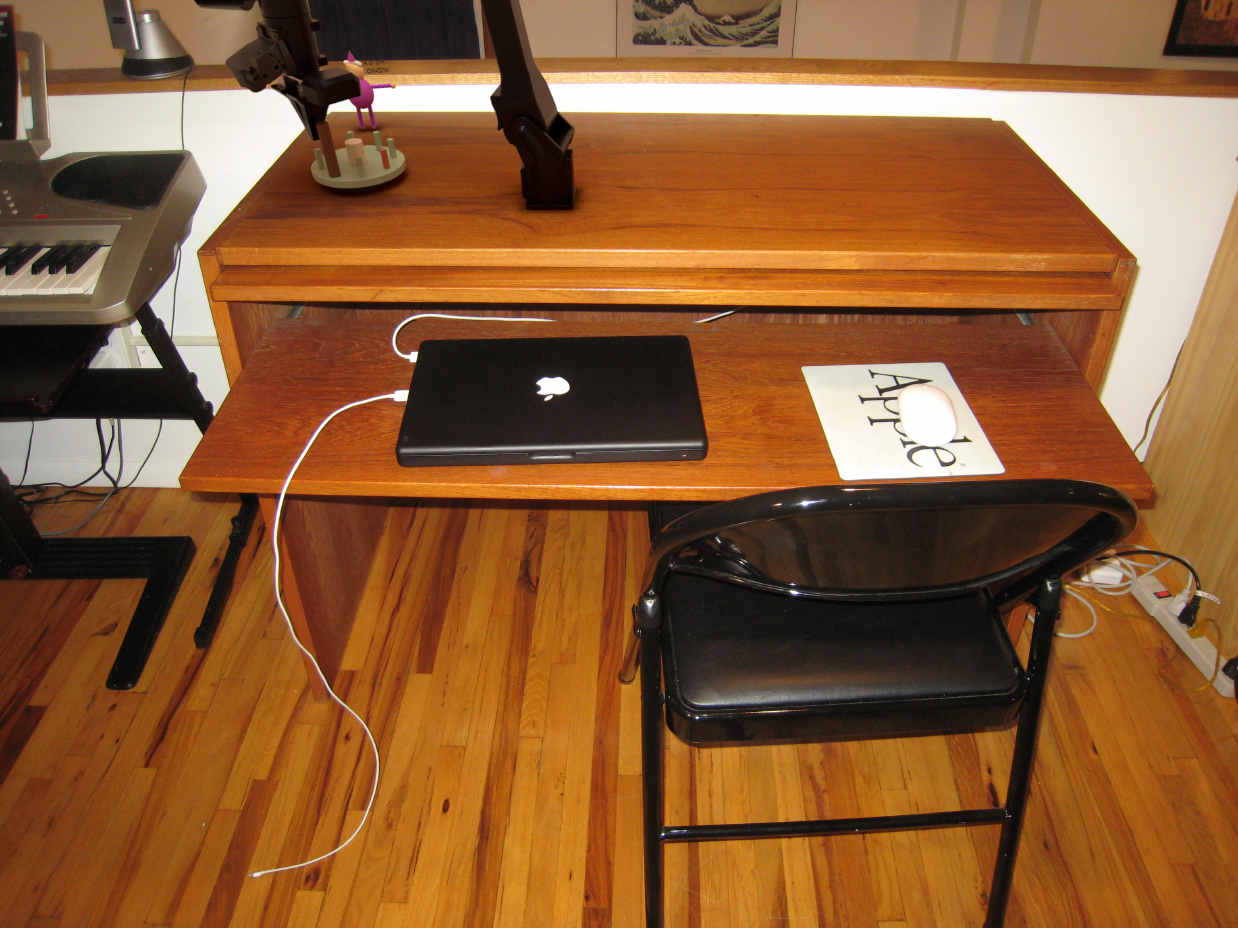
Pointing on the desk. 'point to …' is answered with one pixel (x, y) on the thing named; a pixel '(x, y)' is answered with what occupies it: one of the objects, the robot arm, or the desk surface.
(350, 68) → the wizard figurine
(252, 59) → the robot arm
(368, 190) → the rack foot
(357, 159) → the pegged crank wheel
